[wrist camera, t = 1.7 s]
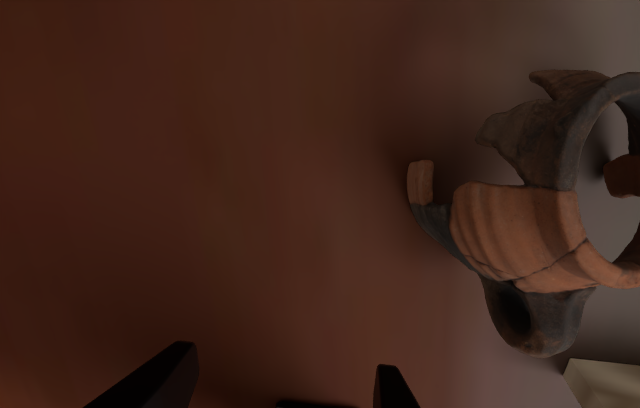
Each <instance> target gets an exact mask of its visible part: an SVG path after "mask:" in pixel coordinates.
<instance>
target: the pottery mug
mask: <svg viewBox="0 0 640 408" xmlns="http://www.w3.org/2000/svg"><path fill="white" fill-rule="evenodd" d="M529 79H530V81H531V82H533V83H536V84H538V85H540V86H542V87H543V88H544V89H545V91H546V92H547V93H548V94H549V95H550V97H551V98H552V99H553V100H554V101H553V100H535V101H531V102H525V103H523V104H520V105H518V106H516V107H515V108H513V109H511V110H510V111H508V112H504V113H496V114H494V115H491V116H490V117H489V118H488V119H487V120H486V121H485V122H484V124H483V125H482V127H481V128H480V129H479V131H478V132H477V134H476V138H475V141H476V143H477V144H480V145H483V146H486V147H491V148H496V149H497V150H498V152H499V154H500V155H501V156H502V157H503V158H504V159H505V160H507V161H508V162H509V163H510V164H511V165H512V166H513V167H514V168H515V169H516V171H517V173H518V175H519V176H520V177H521V179H522V180H523V181H524V183H525V184H524V185H520V186H516V185H496V184H487V183H482V182H479V181H469V182H467V183H466V184H463V185H461V186H459V187H458V188H457V189H456V190H455V192H454V196H453V203H452V204H449V203H447V204H443V205H437V204H435V203H434V202H433V191H432V189H433V184H432V183H433V170H434V163H433V162H432V161H431V160H420V161H419V162H417V161H415V162H411V163H410V164H409V167H408V173H407V192H408V197H409V202H410V207H411V210H412V212H413V215H414V216H415V218H416V220H417V222H418V224H419V225H420V226H421V227H422V229H423V230H424V231H425V232H426V233H427V234H428V235H429V236H431V237H432V238H433V239H435V240H436V241H438V242H439V243H440V244H441V245H443V246H444V247H445V248H446V249H447V250H448V251H449V252H450V253H451V254H452V255H453V256H454V257H456V258H457V259H459V260H460V261H461V262H462V263H463V264H464V265H466V266H467V268H469V269H470V270H473V271H475V272H476V273H477V274H478V275H479V277H480V279H481V282H482V284H483V288H484V292H485V299H486V303H487V307H488V310H489V313H490V316H491V319H492V321H493V323H494V325H495V327H496V329H497V331H498V332H499V334H500V335H501V337H502V338H503V339H504V340H505V341H506V343H507V344H509V345H510V346H511V347H513V348H515V349H517V350H518V351H520V352H521V353H525V354H528V355H530V356H532V357H536V358H547V357H551V356H553V355H555V354H558V353H560V352H563V351H565V350H567V349H568V348H569V347H571V345H572V344H573V342H574V341H575V339H576V336H577V333H578V331H579V327H580V322H581V317H582V312H583V308H584V305H585V303H586V301H587V299H588V298H589V297H590V295H591V294H592V293H593V292H594V291H595V289H596V286H598V285H601V284H602V285H604V286H607V287H611V288H621V289H628V288H634V287H639V286H640V222H639V226H638V229H637V232H636V233H635V235H634V238H633V240H632V241H631V242H630V243H629V244H628V245H627V247H626V248H625V249H624V251H623V252H622V253H621V254H620V256H619V257H618V258H617V259H616V260H615V261H614V262H612V263H611V262H609V261H607V260H606V259H605V258H603V257H602V256H601V255H600V254H599V253H598V252H597V250H596V249H595V248H594V246H593V245H592V244H591V242H590V241H589V240H588V239H587V237H586V232H585V229H584V227H583V224H582V221H581V216H580V212H579V207H578V201H577V193H576V191H575V185H576V181H577V174H578V167H579V161H580V156H581V152H582V149H583V146H584V143H585V141H586V139H587V136H588V134H589V133H590V131H591V129H592V127H593V125H594V123H595V122H596V120H597V118H598V117H599V115H600V114H601V113H602V112H603V111H604V110H605V109H606V108H607V107H608V106H609V105H610V104H611V103H613V102H615V103H616V104H617V105H618V106H619V107H620V109H621V110H622V112H623V113H624V115H625V116H626V118H627V123H628V141H629V146H628V149H629V154H626V155H622V156H620V157H618V158H616V159H614V160H612V161H610V162H608V163H606V164H605V165H604V166H603V173H604V178H605V183H606V186H607V189H608V191H609V193H610V194H611V195H612V196H613V197H618V198H627V197H631V196H638V197H640V72H627V73H624V74H620V75H617V76H615V77H612V78H609V77H607V76H605V75H603V74H601V73H598V72H596V71H588V70H583V71H581V70H545V71H537V72H532V73H530V75H529Z"/></svg>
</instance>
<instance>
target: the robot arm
mask: <svg viewBox="0 0 640 408" xmlns="http://www.w3.org/2000/svg"><path fill="white" fill-rule="evenodd" d="M198 376H199V363H198V356H197V348H196V345H195V343H193V342H187V341H176V342H174V343H173V344H171V345H170V346H168V347H167V348H166V349H164V350H163V351H161V352H160V353H159V354H157V355H156V356H154V357H153V358H152V359H150V360H149V361H147V362H146V363H145V364H143V365H142V366H140V367H139V368H138V369H136V370H135V371H133V372H132V373H131V374H129V375H128V376H126V377H125V378H124V379H122V380H121V381H119V382H118V383H117V384H115V385H114V386H112V387H111V388H110V389H108V390H107V391H105V392H104V393H103V394H101V395H100V396H98V397H97V398H96V399H94V400H93V401H91V402H90V403H89V404H87V405H86V406H84V407H83V408H188V405H189V402H190V399H191V396H192V394H193V391H194V388H195V385H196V383H197V380H198ZM275 408H327V407H319V406H311V405H304V404H296V403H288V402H278V403H277V404H276V407H275ZM373 408H421V407H420V406H419V404H418V402H417V401H416V399H415V397H414V395H413V394H412V392H411V390H410V388H409V387H408V385H407V383H406V381H405V380H404V378H403V376H402V374H401V373H400V371H399V369H398V368H397V367H396V366H393V365H385V364H379V365H378V366H377V370H376V378H375V386H374V394H373Z"/></svg>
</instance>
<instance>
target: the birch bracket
mask: <svg viewBox="0 0 640 408" xmlns="http://www.w3.org/2000/svg"><path fill="white" fill-rule="evenodd" d="M563 377H564V379H565V381H566V382H567V384H568V385H569V387H570V389H571V390H572V392H573V394H574V395H575V397H576V398H577V400H578V402H579V403H580V405H581V407H582V408H640V366H638V365H629V364H620V363H611V362H602V361H593V360H583V359H574V358H570V360H569V362H568V365H567V367H566V370H565V372H564V374H563Z"/></svg>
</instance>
